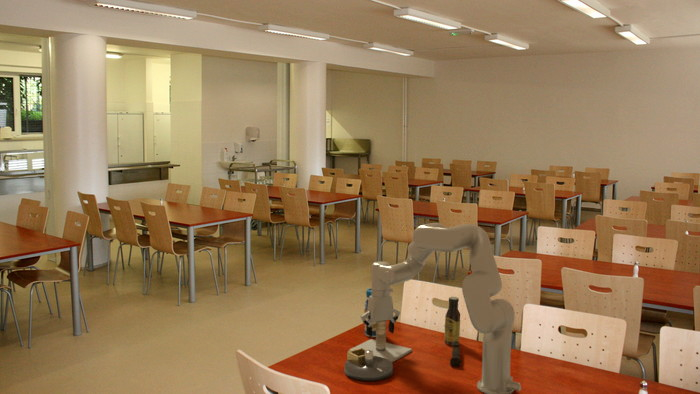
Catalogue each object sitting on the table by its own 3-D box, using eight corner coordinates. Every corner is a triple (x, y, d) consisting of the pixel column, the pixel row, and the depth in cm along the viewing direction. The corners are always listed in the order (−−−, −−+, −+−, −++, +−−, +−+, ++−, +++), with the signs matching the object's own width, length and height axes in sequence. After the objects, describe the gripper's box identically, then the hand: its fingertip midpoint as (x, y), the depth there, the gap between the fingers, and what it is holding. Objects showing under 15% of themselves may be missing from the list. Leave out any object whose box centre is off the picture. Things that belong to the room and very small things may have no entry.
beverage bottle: (385, 332, 275) (385, 288, 273) (381, 338, 267) (381, 293, 265) (366, 330, 277) (366, 286, 275) (362, 336, 269) (362, 291, 267)
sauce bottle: (441, 342, 263) (442, 296, 260) (453, 340, 265) (454, 294, 263) (450, 347, 257) (451, 300, 255) (462, 344, 259) (463, 298, 257)
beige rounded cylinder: (385, 351, 249) (386, 322, 247) (375, 351, 249) (376, 322, 248) (385, 347, 253) (386, 319, 251) (375, 347, 253) (376, 319, 252)
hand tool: (460, 368, 235) (460, 356, 234) (450, 367, 236) (450, 355, 235) (462, 351, 253) (463, 340, 253) (453, 350, 254) (453, 339, 254)
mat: (411, 351, 252) (411, 348, 252) (390, 363, 239) (390, 360, 239) (371, 341, 264) (371, 338, 263) (348, 352, 251) (348, 349, 251)
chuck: (402, 373, 228) (403, 353, 227) (363, 384, 218) (363, 364, 217) (373, 358, 243) (373, 340, 242) (335, 368, 233) (335, 349, 232)
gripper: (395, 288, 255) (395, 328, 257) (357, 292, 248) (357, 334, 250) (404, 292, 249) (403, 334, 251) (365, 297, 242) (365, 339, 244)
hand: (380, 334), depth 250 cm, fingers open, 9 cm apart
